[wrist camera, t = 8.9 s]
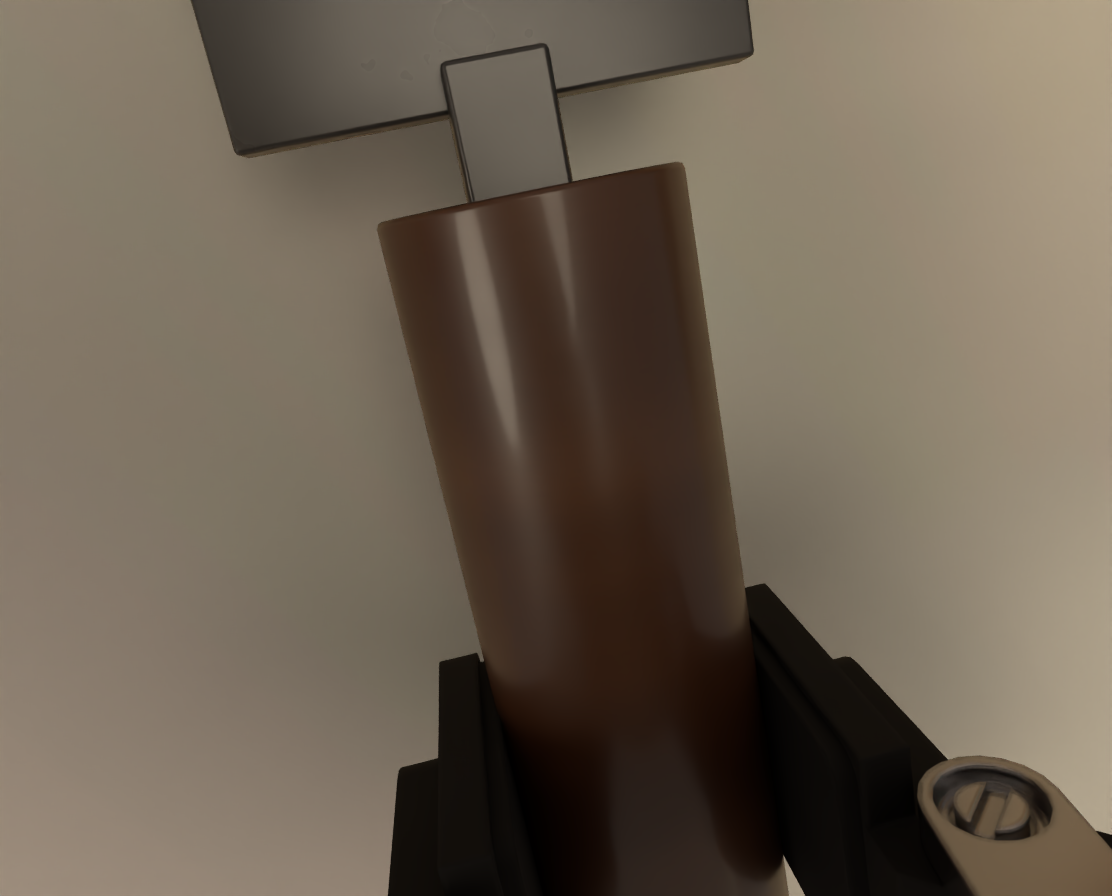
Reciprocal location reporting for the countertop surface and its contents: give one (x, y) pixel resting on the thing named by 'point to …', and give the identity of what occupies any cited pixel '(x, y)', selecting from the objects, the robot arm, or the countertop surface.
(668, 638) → the spatula
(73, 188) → the countertop surface
